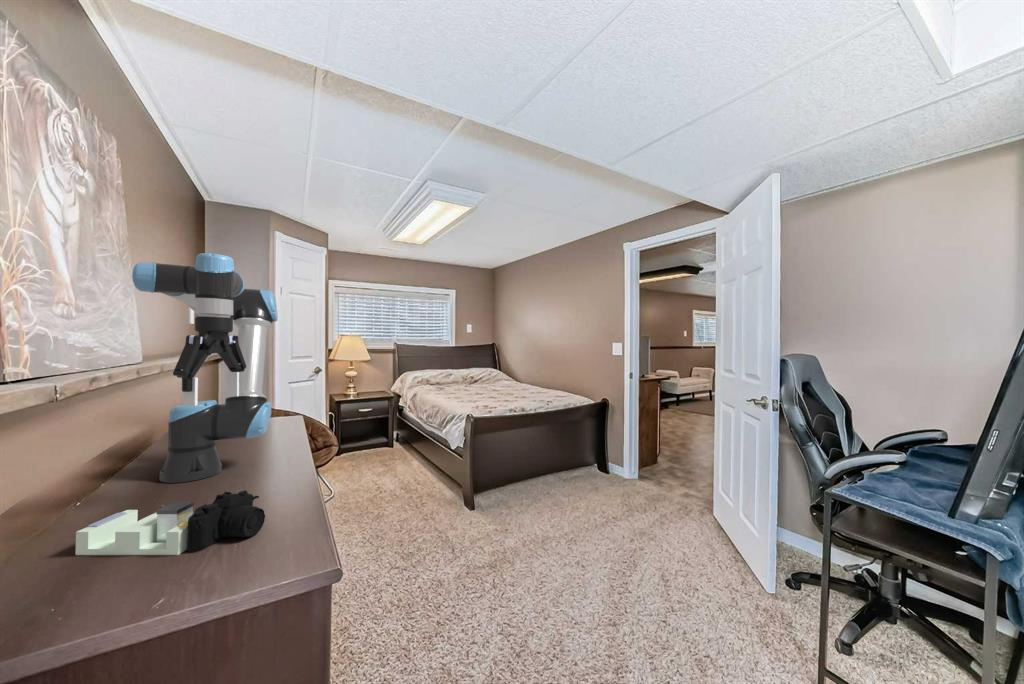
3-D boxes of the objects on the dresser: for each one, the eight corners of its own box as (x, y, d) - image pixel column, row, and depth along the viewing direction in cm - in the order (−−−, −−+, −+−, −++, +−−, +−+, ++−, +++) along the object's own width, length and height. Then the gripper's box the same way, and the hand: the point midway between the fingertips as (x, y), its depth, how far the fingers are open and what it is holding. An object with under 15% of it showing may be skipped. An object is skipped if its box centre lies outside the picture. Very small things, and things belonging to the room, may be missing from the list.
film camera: (219, 557, 74) (221, 512, 74) (178, 552, 75) (180, 508, 76) (279, 522, 89) (280, 484, 89) (243, 518, 90) (244, 481, 91)
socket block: (126, 530, 84) (126, 508, 84) (216, 530, 84) (217, 508, 84) (75, 555, 74) (76, 530, 74) (178, 555, 74) (178, 530, 74)
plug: (173, 534, 81) (174, 501, 81) (193, 534, 81) (193, 502, 82) (155, 544, 77) (156, 510, 77) (176, 544, 77) (177, 510, 77)
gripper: (235, 318, 106) (234, 392, 106) (152, 312, 81) (150, 409, 81) (261, 319, 106) (260, 393, 106) (187, 313, 81) (185, 410, 81)
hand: (213, 400), depth 94 cm, fingers open, 13 cm apart
